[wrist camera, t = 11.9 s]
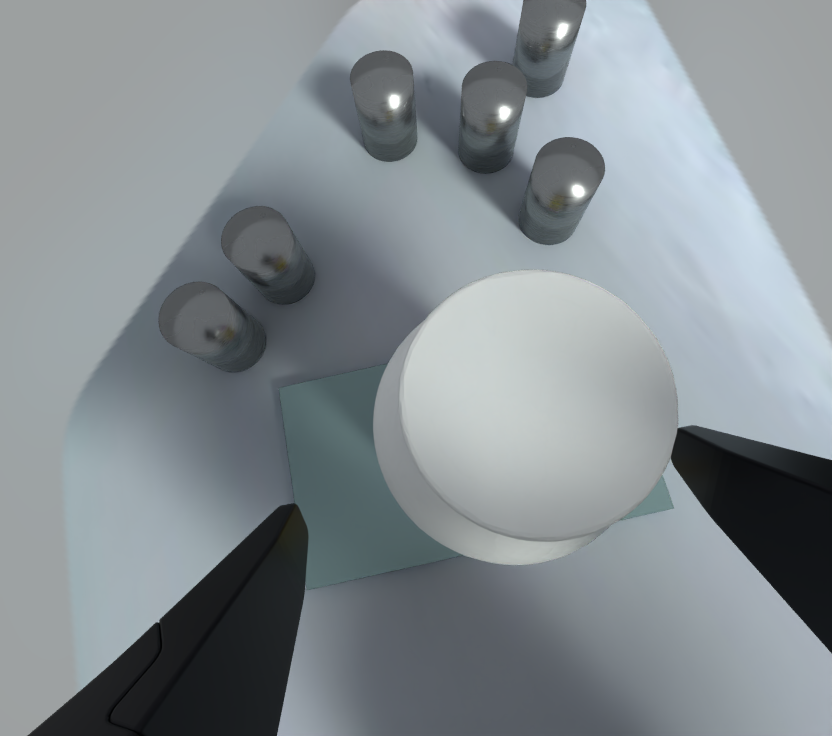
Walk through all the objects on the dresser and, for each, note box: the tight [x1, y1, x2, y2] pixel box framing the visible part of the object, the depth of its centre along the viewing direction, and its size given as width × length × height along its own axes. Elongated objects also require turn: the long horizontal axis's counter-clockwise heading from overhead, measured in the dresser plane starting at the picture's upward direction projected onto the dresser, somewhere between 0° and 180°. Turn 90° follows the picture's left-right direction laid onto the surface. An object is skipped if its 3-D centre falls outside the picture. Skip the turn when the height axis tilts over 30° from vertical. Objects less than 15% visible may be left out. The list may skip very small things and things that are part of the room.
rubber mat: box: [279, 364, 674, 590], centre depth 20 cm, size 9×16×1 cm, turn 102°
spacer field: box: [159, 0, 605, 372], centre depth 22 cm, size 15×22×4 cm
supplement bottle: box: [373, 270, 678, 565], centre depth 14 cm, size 7×7×13 cm
